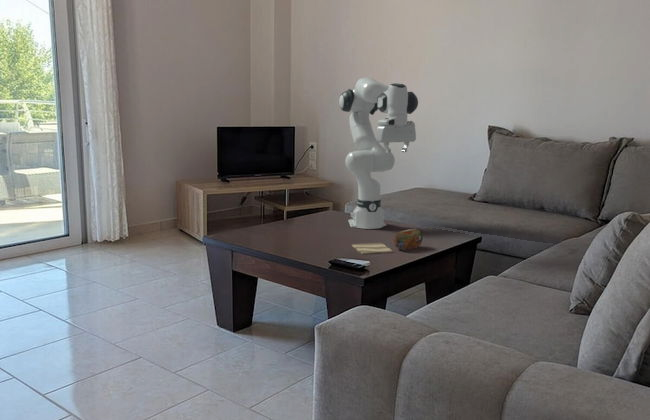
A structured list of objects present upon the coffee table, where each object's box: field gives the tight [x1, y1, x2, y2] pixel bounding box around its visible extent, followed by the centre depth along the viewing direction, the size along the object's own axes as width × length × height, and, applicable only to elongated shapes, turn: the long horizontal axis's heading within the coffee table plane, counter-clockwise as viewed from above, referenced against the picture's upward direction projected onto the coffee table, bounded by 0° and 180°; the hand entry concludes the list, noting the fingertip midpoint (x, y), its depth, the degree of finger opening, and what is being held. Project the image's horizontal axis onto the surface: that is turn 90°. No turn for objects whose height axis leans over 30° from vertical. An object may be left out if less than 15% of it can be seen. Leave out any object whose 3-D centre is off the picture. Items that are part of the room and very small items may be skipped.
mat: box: [351, 242, 394, 255], centre depth 258 cm, size 15×14×1 cm
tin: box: [394, 228, 423, 251], centre depth 259 cm, size 15×3×8 cm, turn 126°
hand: (396, 152), depth 262 cm, fingers open, 8 cm apart
